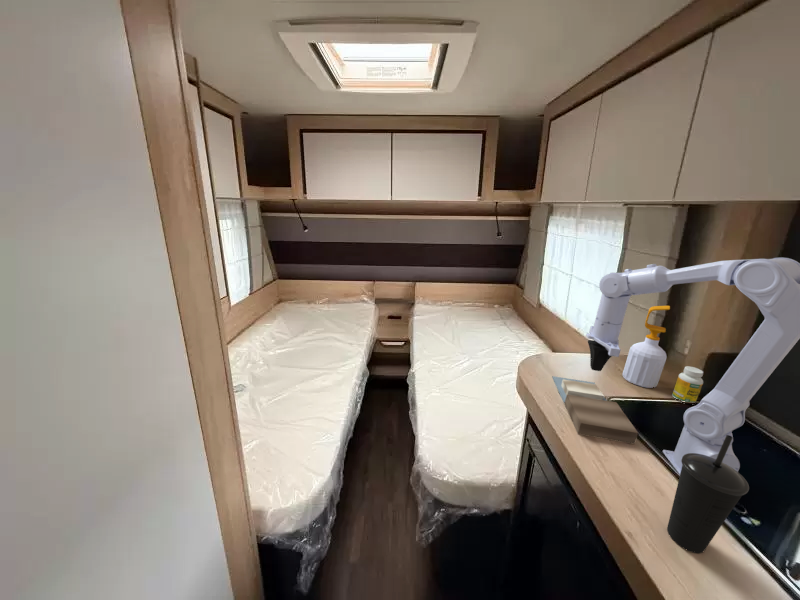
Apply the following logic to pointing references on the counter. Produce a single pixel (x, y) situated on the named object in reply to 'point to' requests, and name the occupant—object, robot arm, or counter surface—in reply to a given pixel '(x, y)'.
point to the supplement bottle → (688, 384)
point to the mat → (558, 384)
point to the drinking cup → (704, 498)
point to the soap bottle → (646, 357)
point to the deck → (600, 419)
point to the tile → (582, 389)
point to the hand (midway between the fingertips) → (595, 369)
